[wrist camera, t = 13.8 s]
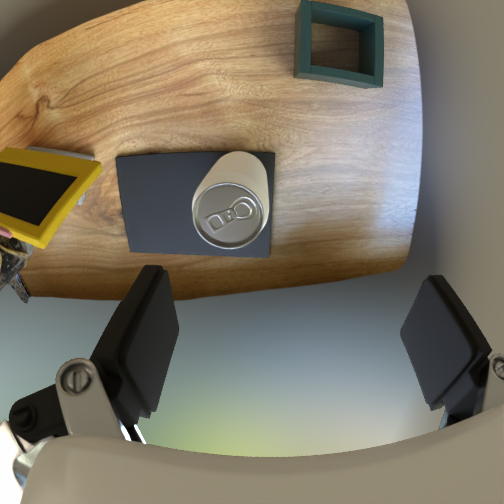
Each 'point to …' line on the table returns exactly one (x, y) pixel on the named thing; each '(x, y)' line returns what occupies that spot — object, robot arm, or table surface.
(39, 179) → the yellow framed monitor
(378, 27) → the box
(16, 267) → the lantern
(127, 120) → the table surface
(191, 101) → the table surface
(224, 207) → the can
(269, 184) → the mat
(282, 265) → the table surface
